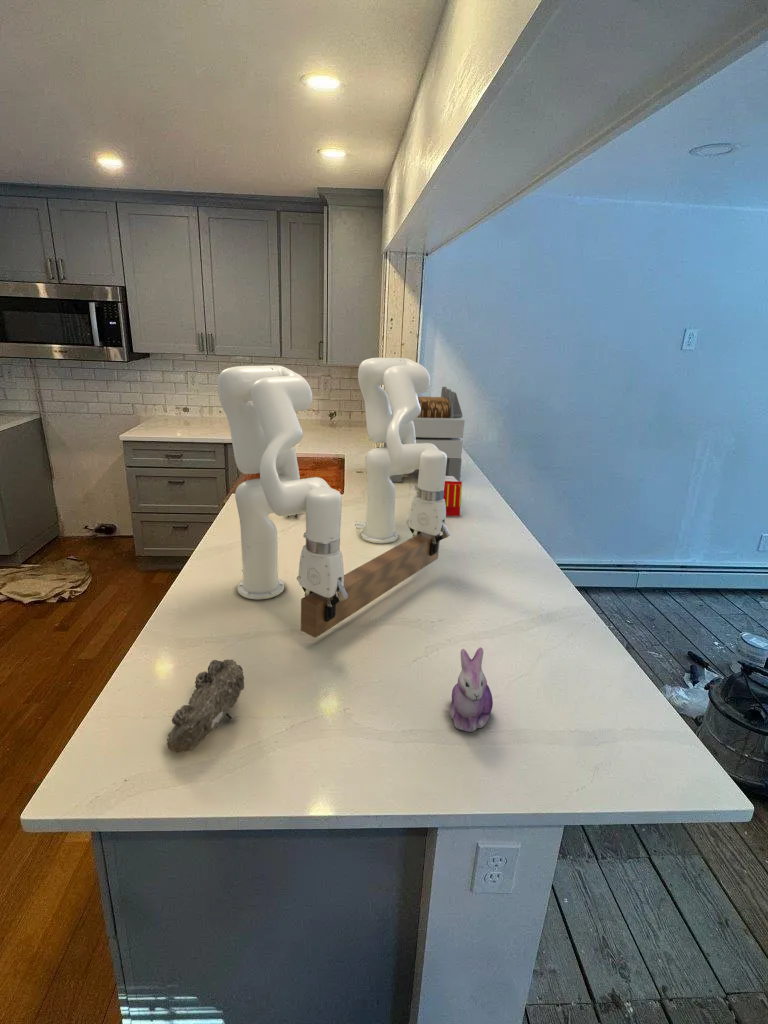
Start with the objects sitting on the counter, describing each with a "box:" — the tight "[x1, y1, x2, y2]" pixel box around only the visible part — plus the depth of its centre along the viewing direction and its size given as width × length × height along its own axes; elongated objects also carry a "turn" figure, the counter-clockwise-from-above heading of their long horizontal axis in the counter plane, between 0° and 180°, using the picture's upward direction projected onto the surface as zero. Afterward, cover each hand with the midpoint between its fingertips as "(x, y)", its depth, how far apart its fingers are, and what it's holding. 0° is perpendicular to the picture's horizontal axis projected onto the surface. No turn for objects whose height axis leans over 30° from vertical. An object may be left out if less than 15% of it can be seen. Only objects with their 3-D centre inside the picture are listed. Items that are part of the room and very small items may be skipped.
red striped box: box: [443, 476, 463, 517], centre depth 230 cm, size 12×13×30 cm
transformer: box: [383, 386, 465, 483], centre depth 268 cm, size 34×33×41 cm
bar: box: [300, 532, 442, 639], centre depth 149 cm, size 55×4×8 cm, turn 145°
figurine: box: [449, 647, 494, 733], centre depth 108 cm, size 9×10×15 cm
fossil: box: [166, 658, 245, 754], centre depth 106 cm, size 22×10×15 cm
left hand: (321, 614), depth 131 cm, fingers closed on bar, 4 cm apart
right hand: (425, 551), depth 167 cm, fingers closed on bar, 4 cm apart
